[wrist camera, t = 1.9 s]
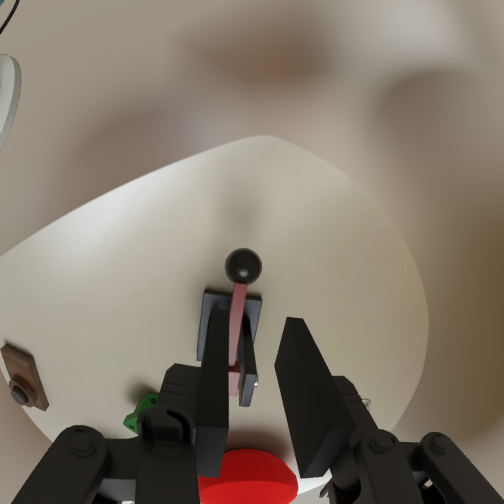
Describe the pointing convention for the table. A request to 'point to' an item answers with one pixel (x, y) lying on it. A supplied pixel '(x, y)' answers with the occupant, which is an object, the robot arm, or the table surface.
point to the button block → (24, 376)
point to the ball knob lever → (239, 302)
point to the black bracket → (245, 338)
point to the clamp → (140, 410)
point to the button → (19, 395)
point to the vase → (249, 480)
